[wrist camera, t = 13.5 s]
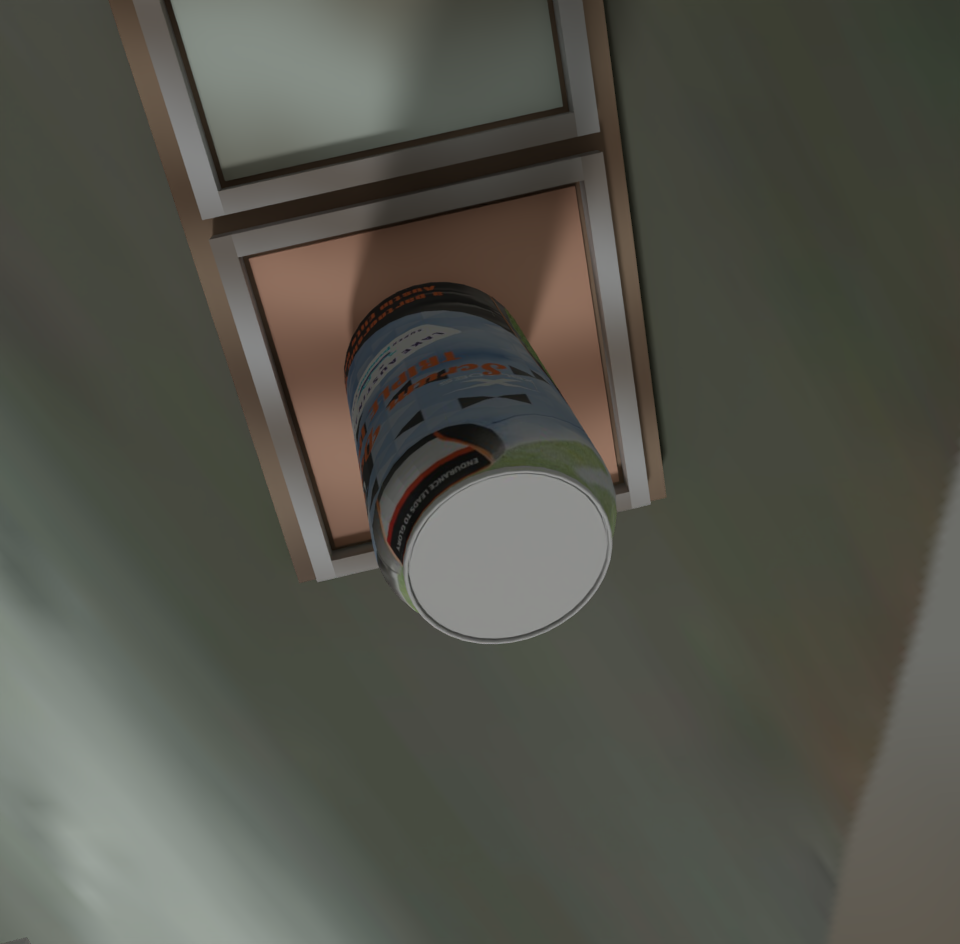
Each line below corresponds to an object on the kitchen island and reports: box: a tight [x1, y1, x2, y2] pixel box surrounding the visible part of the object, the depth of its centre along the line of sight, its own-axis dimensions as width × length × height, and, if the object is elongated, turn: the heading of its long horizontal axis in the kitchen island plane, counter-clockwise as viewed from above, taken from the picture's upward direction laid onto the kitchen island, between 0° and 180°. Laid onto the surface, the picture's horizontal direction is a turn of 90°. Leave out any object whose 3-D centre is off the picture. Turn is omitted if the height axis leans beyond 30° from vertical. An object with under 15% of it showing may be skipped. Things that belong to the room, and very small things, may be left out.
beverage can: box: [344, 282, 617, 644], centre depth 26 cm, size 6×7×12 cm
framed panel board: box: [109, 0, 666, 583], centre depth 29 cm, size 26×14×2 cm, turn 11°
